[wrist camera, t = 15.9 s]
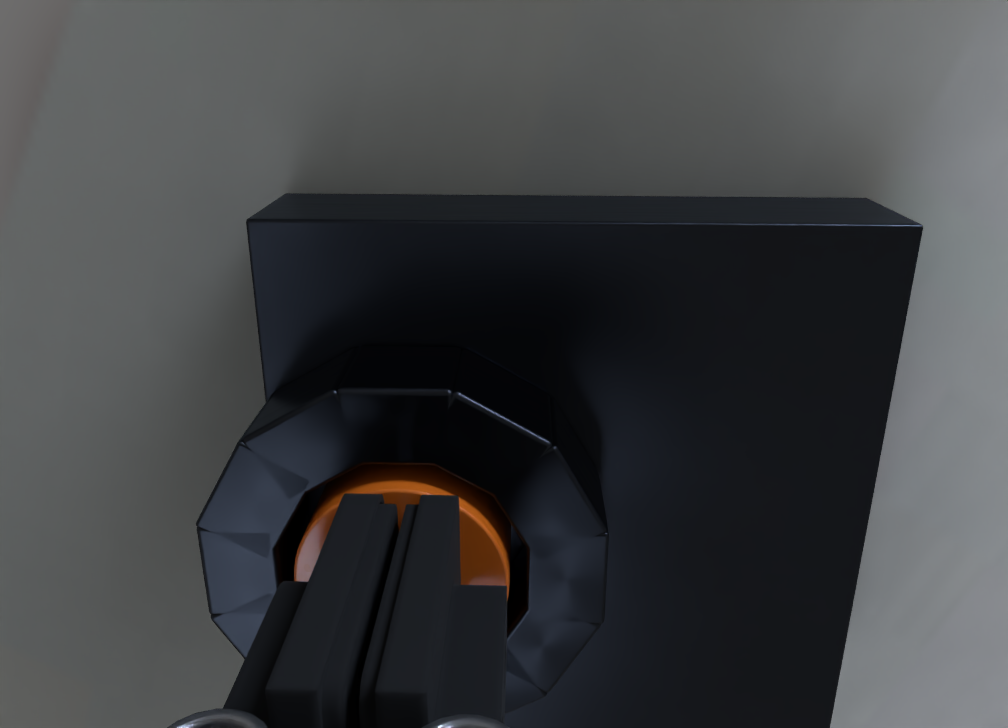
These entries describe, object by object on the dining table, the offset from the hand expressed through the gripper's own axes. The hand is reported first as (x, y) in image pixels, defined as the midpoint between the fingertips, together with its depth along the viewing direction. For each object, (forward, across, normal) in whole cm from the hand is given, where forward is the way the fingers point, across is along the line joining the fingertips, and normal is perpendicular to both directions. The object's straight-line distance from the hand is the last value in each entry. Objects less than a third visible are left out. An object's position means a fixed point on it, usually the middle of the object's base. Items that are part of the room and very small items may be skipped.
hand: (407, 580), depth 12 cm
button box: (+4, -2, 0) cm, 5 cm away
